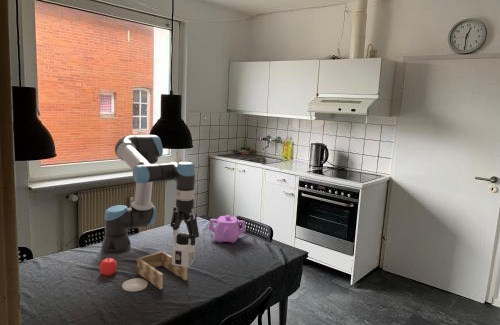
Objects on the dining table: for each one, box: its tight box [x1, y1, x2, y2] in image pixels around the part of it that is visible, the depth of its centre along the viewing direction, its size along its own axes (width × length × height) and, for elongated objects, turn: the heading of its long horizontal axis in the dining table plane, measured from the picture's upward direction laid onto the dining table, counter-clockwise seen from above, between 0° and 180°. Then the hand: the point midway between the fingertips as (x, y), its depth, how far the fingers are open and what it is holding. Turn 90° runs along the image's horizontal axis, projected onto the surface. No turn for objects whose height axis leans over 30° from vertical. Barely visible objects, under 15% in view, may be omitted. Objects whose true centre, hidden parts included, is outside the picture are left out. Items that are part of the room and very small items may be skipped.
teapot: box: [208, 214, 246, 244], centre depth 228 cm, size 19×18×15 cm
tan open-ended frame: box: [136, 250, 188, 290], centre depth 180 cm, size 21×14×7 cm
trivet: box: [121, 277, 149, 293], centre depth 170 cm, size 11×11×1 cm
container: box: [171, 232, 196, 268], centre depth 165 cm, size 8×8×13 cm
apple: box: [99, 257, 118, 277], centre depth 179 cm, size 8×8×8 cm
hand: (183, 247), depth 165 cm, fingers closed on container, 10 cm apart
